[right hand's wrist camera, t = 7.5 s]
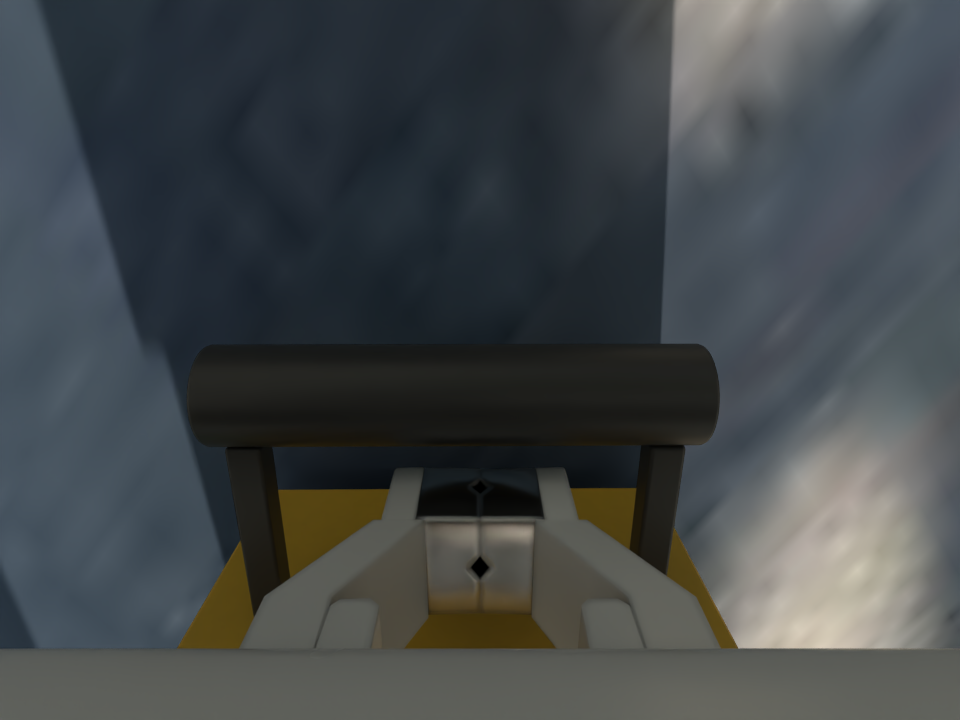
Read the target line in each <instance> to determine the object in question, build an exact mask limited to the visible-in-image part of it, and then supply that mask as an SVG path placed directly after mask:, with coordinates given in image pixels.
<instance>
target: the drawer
mask: <svg viewBox="0 0 960 720" xmlns="http://www.w3.org/2000/svg"><path fill="white" fill-rule="evenodd" d="M719 403H720V392H719V381H718V375H717V370H716V367H715V363H714V361H713V358H712V356H711V354H710V353H709V351H708V350H707V349H706V348H705V347H704V346H702V345H699V344H253V345H209V346H207V347H205V348H203V349H202V350H201V351H200V352H199V354H198V355H197V357H196V358H195V360H194V362H193V365H192V368H191V371H190V375H189V380H188V386H187V411H188V418H189V422H190V425H191V428H192V431H193V433H194V435H195V437H196V438H197V440H198V441H199V442H200V443H201V444H203V445H205V446H208V447H227V448H226V450H225V454H226V459H227V465H228V471H229V477H230V482H231V488H232V494H233V500H234V506H235V511H236V517H237V523H238V529H239V534H240V542H239V544H238V545H237V547H236V549H235V550H234V552H233V554H232V555H231V557H230V559H229V561H228V562H227V564H226V566H225V567H224V569H223V571H222V573H221V574H220V576H219V578H218V579H217V581H216V583H215V584H214V586H213V588H212V590H211V591H210V593H209V595H208V596H207V598H206V600H205V602H204V603H203V605H202V607H201V608H200V610H199V612H198V613H197V615H196V617H195V619H194V620H193V622H192V624H191V625H190V627H189V629H188V630H187V632H186V634H185V636H184V637H183V639H182V641H181V642H180V644H179V646H178V648H177V649H239V647H240V645H241V643H242V641H243V639H244V637H245V635H246V633H247V631H248V629H249V627H250V625H251V623H252V621H253V619H254V617H255V615H256V613H257V611H258V608H259V606H260V604H261V602H262V600H263V598H264V596H265V595H267V594H268V593H270V592H271V591H273V590H274V589H275V588H277V587H278V586H280V585H281V584H283V583H284V582H285V581H287V580H288V579H290V578H291V577H292V576H294V575H295V574H297V573H298V572H300V571H301V570H302V569H304V568H305V567H307V566H308V565H310V564H311V563H312V562H314V561H315V560H317V559H318V558H319V557H321V556H322V555H324V554H325V553H327V552H328V551H329V550H331V549H332V548H334V547H335V546H337V545H338V544H339V543H341V542H342V541H344V540H345V539H347V538H348V537H349V536H351V535H352V534H354V533H355V532H356V531H358V530H359V529H361V528H362V527H364V526H365V525H366V524H368V523H369V522H371V521H372V520H381V518H382V515H383V511H384V507H385V504H386V500H387V496H388V492H389V489H333V490H278V486H277V479H276V471H275V464H274V457H273V450H272V447H346V446H598V445H641V453H640V461H639V470H638V479H637V488H570V489H571V493H572V496H573V500H574V504H575V507H576V511H577V515H578V518H579V520H588V521H589V522H591V523H592V524H594V525H595V526H596V527H598V528H599V529H601V530H602V531H603V532H605V533H606V534H608V535H609V536H611V537H612V538H613V539H615V540H616V541H618V542H619V543H620V544H622V545H623V546H625V547H626V548H628V549H629V550H630V551H632V552H633V553H635V554H636V555H637V556H639V557H640V558H642V559H643V560H645V561H646V562H647V563H649V564H650V565H652V566H653V567H654V568H656V569H657V570H659V571H660V572H662V573H663V574H664V575H666V576H667V577H669V578H670V579H671V580H673V581H674V582H676V583H677V584H679V585H680V586H681V587H683V588H684V589H686V590H687V591H688V592H690V593H691V594H693V595H694V596H696V598H697V600H698V602H699V604H700V606H701V608H702V610H703V612H704V614H705V616H706V618H707V620H708V622H709V625H710V627H711V629H712V631H713V633H714V635H715V637H716V639H717V641H718V643H719V645H720V647H721V649H738V647H737V645H736V643H735V641H734V639H733V637H732V636H731V634H730V632H729V630H728V628H727V626H726V624H725V622H724V621H723V619H722V617H721V615H720V613H719V611H718V609H717V607H716V605H715V604H714V602H713V600H712V598H711V596H710V594H709V592H708V590H707V588H706V587H705V585H704V583H703V581H702V579H701V577H700V575H699V573H698V572H697V570H696V568H695V566H694V564H693V562H692V560H691V558H690V556H689V555H688V553H687V551H686V549H685V547H684V545H683V543H682V541H681V539H680V538H679V536H678V534H677V532H676V530H675V528H674V523H675V517H676V510H677V503H678V496H679V489H680V482H681V475H682V468H683V462H684V455H685V447H684V445H702V444H704V443H706V442H707V441H708V440H709V439H710V438H711V436H712V434H713V433H714V430H715V427H716V424H717V420H718V414H719ZM404 649H556V647H555V646H554V645H553V644H552V642H551V641H550V640H549V639H548V637H547V636H546V635H545V634H544V632H543V631H542V630H541V628H540V627H539V626H538V625H537V623H536V622H535V621H534V620H533V618H532V615H521V614H485V613H473V614H438V615H428V619H427V620H426V621H425V623H424V624H423V625H422V626H421V628H420V629H419V630H418V631H417V633H416V634H415V635H414V637H413V638H412V639H411V640H410V642H409V643H408V644H407V645H406V647H405V648H404Z"/></svg>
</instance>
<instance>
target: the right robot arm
mask: <svg viewBox="0 0 960 720" xmlns="http://www.w3.org/2000/svg"><path fill="white" fill-rule="evenodd" d="M473 613H485V614H521V615H532V618H533V620H534V621H535V622H536V623H537V625H538V626H539V627H540V628H541V630H542V631H543V632H544V634H545V635H546V636H547V637H548V639H549V640H550V641H551V642H552V644H553V645H554V646H555V647H556V649H404V648H405V647H406V645H407V644H408V643H409V642H410V640H411V639H412V638H413V637H414V635H415V634H416V633H417V631H418V630H419V629H420V628H421V626H422V625H423V624H424V623H425V621H426V620H427V619H428V615H438V614H473ZM0 720H960V649H721V647H720V645H719V643H718V641H717V639H716V637H715V635H714V633H713V631H712V629H711V627H710V625H709V622H708V620H707V618H706V616H705V614H704V612H703V610H702V608H701V606H700V604H699V602H698V600H697V598H696V596H694V595H693V594H691V593H690V592H688V591H687V590H686V589H684V588H683V587H681V586H680V585H679V584H677V583H676V582H674V581H673V580H671V579H670V578H669V577H667V576H666V575H664V574H663V573H662V572H660V571H659V570H657V569H656V568H654V567H653V566H652V565H650V564H649V563H647V562H646V561H645V560H643V559H642V558H640V557H639V556H637V555H636V554H635V553H633V552H632V551H630V550H629V549H628V548H626V547H625V546H623V545H622V544H620V543H619V542H618V541H616V540H615V539H613V538H612V537H611V536H609V535H608V534H606V533H605V532H603V531H602V530H601V529H599V528H598V527H596V526H595V525H594V524H592V523H591V522H589V521H588V520H579V518H578V515H577V511H576V507H575V504H574V500H573V496H572V493H571V489H570V485H569V482H568V478H567V474H566V471H565V469H564V468H563V467H545V468H503V469H480V468H428V467H426V468H424V467H398V468H396V469H395V470H394V474H393V477H392V481H391V485H390V489H389V492H388V496H387V500H386V504H385V507H384V511H383V515H382V518H381V520H372V521H371V522H369V523H368V524H366V525H365V526H364V527H362V528H361V529H359V530H358V531H356V532H355V533H354V534H352V535H351V536H349V537H348V538H347V539H345V540H344V541H342V542H341V543H339V544H338V545H337V546H335V547H334V548H332V549H331V550H329V551H328V552H327V553H325V554H324V555H322V556H321V557H319V558H318V559H317V560H315V561H314V562H312V563H311V564H310V565H308V566H307V567H305V568H304V569H302V570H301V571H300V572H298V573H297V574H295V575H294V576H292V577H291V578H290V579H288V580H287V581H285V582H284V583H283V584H281V585H280V586H278V587H277V588H275V589H274V590H273V591H271V592H270V593H268V594H267V595H265V596H264V598H263V600H262V602H261V604H260V606H259V608H258V611H257V613H256V615H255V617H254V619H253V621H252V623H251V625H250V627H249V629H248V631H247V633H246V635H245V637H244V639H243V641H242V643H241V645H240V647H239V649H158V648H107V649H0Z"/></svg>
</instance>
